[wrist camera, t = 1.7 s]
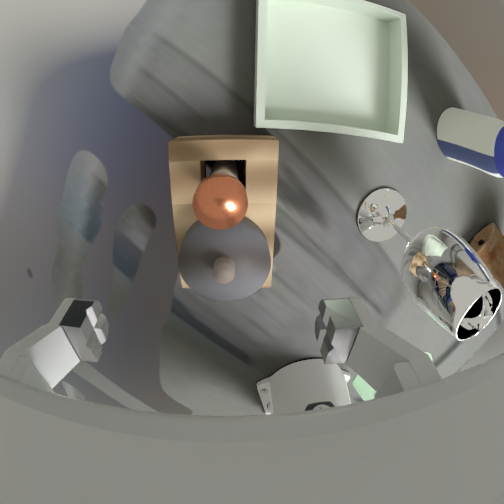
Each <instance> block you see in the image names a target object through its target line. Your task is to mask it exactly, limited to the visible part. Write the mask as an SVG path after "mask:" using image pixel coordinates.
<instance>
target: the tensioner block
mask: <svg viewBox="0 0 504 504" xmlns="http://www.w3.org/2000/svg"><path fill="white" fill-rule="evenodd" d="M168 154H169V171H170V184H171V197H172V209H173V219H174V228H175V237H176V245H177V254H178V267H179V271H180V276H181V283H182V288H191V289H192V290H193V291H194V292H196V293H197V294H199V295H201V296H203V297H205V298H207V299H211V300H214V301H223V302H227V301H236V300H240V299H243V298H246V297H248V296H250V295H252V294H253V293H255V292H256V291H257V290H258V289H260V288H261V287H271V277H272V262H273V247H274V231H275V214H276V195H277V176H278V154H279V140H278V139H277V138H275V137H274V136H273V135H198V136H180V137H177V138H175V139H173V140H171V141H169V142H168ZM206 160H244V188H245V190H246V193H247V199H248V208H247V212H246V214H245V216H244V218H243V219H242V220H241V221H240V222H239V223H238V224H237V225H235V226H233V227H231V228H228V229H223V230H218V229H212V228H209V227H207V226H205V225H204V224H202V223H201V222H200V221H199V220H198V218H197V217H196V215H195V213H194V211H193V206H192V201H193V196H194V193H195V191H196V189H197V187H198V185H199V184H200V183H201V181H203V180H204V179H205V178H206Z"/></svg>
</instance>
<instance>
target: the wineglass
mask: <svg viewBox="0 0 504 504" xmlns="http://www.w3.org/2000/svg"><path fill="white" fill-rule="evenodd" d="M405 218H406V203H405V200H404V198H403V197H402V195H401V194H400V193H399V192H398V191H396V190H394V189H390V188H382V189H378V190H376V191H374V192H372V193H371V194H369V195H368V196H367V197H366V198H365V200H364V201H363V202H362V204H361V206H360V208H359V212H358V218H357V221H358V227H359V230H360V232H361V234H362V235H363V236H364V237H365V238H367V239H368V240H371V241H374V242H382V241H385V240H388V239H390V238H392V237H393V236H394V235H396V234H397V233H399V234H400V235H401V236H402V237H403V238H404V239H405V240H406V241H407V243H408V244H407V246H406V248H405V250H404V252H403V256H402V261H401V276H402V280H403V284H404V286H405V288H406V290H407V292H408V293H409V295H410V296H411V297H412V299H413V300H414V301H415V302H416V303H417V304H418V305H419V307H420V308H421V309H422V310H423V311H424V312H426V313H427V314H428V315H429V316H430V317H431V318H432V319H434V320H435V321H436V322H437V323H438V324H439V325H441V326H442V327H443V328H444V329H445V330H447V331H448V332H449V333H450V334H451V335H453V336H454V337H455V338H456V339H458V340H460V341H464V340H467V339H470V338H472V337H473V336H475V335H476V334H478V333H479V332H480V331H481V330H482V329H483V328H484V327H485V326H486V325H487V324H488V323H489V322H490V321H491V319H492V318H493V316H494V315H495V313H496V311H497V309H498V307H499V305H500V302H501V298H502V292H501V289H500V287H499V286H498V284H497V282H496V281H495V279H494V277H493V276H492V274H491V272H490V271H489V269H488V268H487V266H486V265H485V263H484V262H483V261H482V259H481V258H480V256H479V255H478V254H477V252H476V251H475V250H474V249H473V247H472V246H471V245H470V244H469V243H468V242H467V241H466V240H465V239H464V238H463V237H462V236H461V235H459V234H458V233H456V232H454V231H453V230H451V229H448V228H444V227H431V228H427V229H424V230H422V231H420V232H419V233H417V234H416V235H415V236H414V237H413V238H412V237H411V236H410V235H408V234H407V233H406V232H405V231H404V230H403V229H402V226H403V224H404V221H405Z"/></svg>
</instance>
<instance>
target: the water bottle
mask: <svg viewBox="0 0 504 504" xmlns="http://www.w3.org/2000/svg"><path fill="white" fill-rule="evenodd" d="M437 140H438V144H439V147H440V149H441V151H442V152H443V154H444V155H445V156H446V157H447V158H449V159H451V160H454V161H457V162H460V163H463V164H466V165H469V166H471V167H474V168H476V169H479V170H481V171H483V172H485V173H488V174H490V175H493V176H495V177H500V178H504V121H502V120H499V119H497V118H493V117H490V116H486V115H481V114H477V113H474V112H470V111H466V110H462V109H459V108H454V107H452V108H448V109H446V110H445V111H444V112H443V113H442V114H441V116H440V118H439V121H438V125H437Z"/></svg>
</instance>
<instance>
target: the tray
mask: <svg viewBox="0 0 504 504" xmlns="http://www.w3.org/2000/svg"><path fill="white" fill-rule="evenodd" d="M407 81H408V46H407V25H406V15H405V14H403V13H400V12H398V11H395V10H392V9H390V8H387V7H384V6H381V5H378V4H375V3H372V2H368V1H365V0H256V33H255V78H254V125H253V126H254V127H256V128H279V129H297V130H310V131H321V132H331V133H340V134H348V135H356V136H363V137H369V138H376V139H382V140H387V141H393V142H398V143H403V138H404V128H405V117H406V103H407Z"/></svg>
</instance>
